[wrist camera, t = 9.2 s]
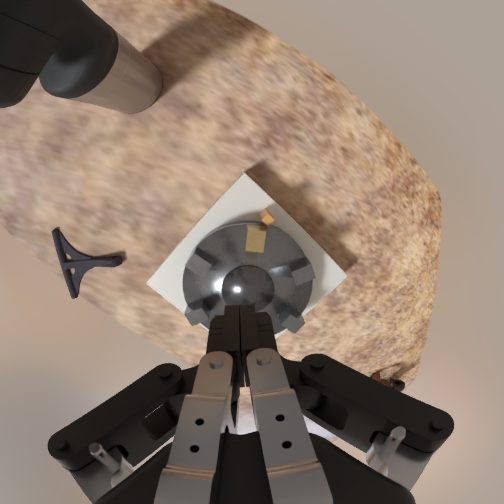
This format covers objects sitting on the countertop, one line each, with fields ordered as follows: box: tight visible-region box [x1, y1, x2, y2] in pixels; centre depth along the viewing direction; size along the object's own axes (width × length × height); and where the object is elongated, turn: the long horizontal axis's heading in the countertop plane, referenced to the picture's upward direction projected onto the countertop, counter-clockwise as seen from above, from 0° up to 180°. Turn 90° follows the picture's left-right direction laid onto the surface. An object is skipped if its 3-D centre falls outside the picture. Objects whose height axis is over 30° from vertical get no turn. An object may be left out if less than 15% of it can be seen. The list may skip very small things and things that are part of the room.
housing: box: [146, 172, 347, 339], centre depth 43 cm, size 24×24×7 cm
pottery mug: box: [371, 373, 405, 392], centre depth 57 cm, size 12×10×8 cm
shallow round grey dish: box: [182, 220, 316, 335], centre depth 41 cm, size 20×20×5 cm
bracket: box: [52, 230, 122, 299], centre depth 44 cm, size 14×15×3 cm
